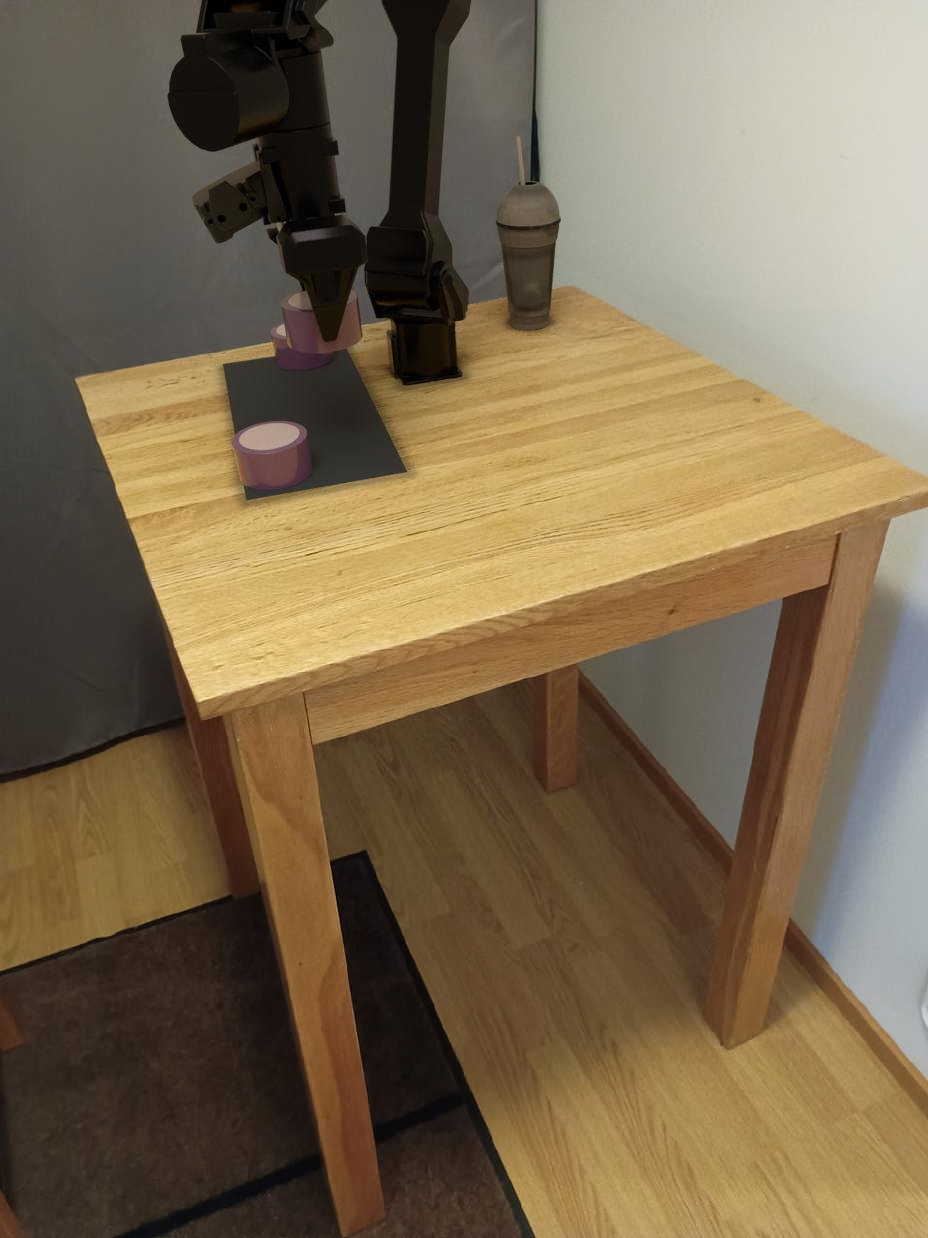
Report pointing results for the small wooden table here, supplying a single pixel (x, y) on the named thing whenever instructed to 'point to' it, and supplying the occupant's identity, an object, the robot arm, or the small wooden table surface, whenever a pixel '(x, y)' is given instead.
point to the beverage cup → (528, 249)
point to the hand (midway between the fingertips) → (323, 327)
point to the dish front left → (305, 328)
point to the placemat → (316, 418)
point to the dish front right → (272, 455)
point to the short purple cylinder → (295, 353)
